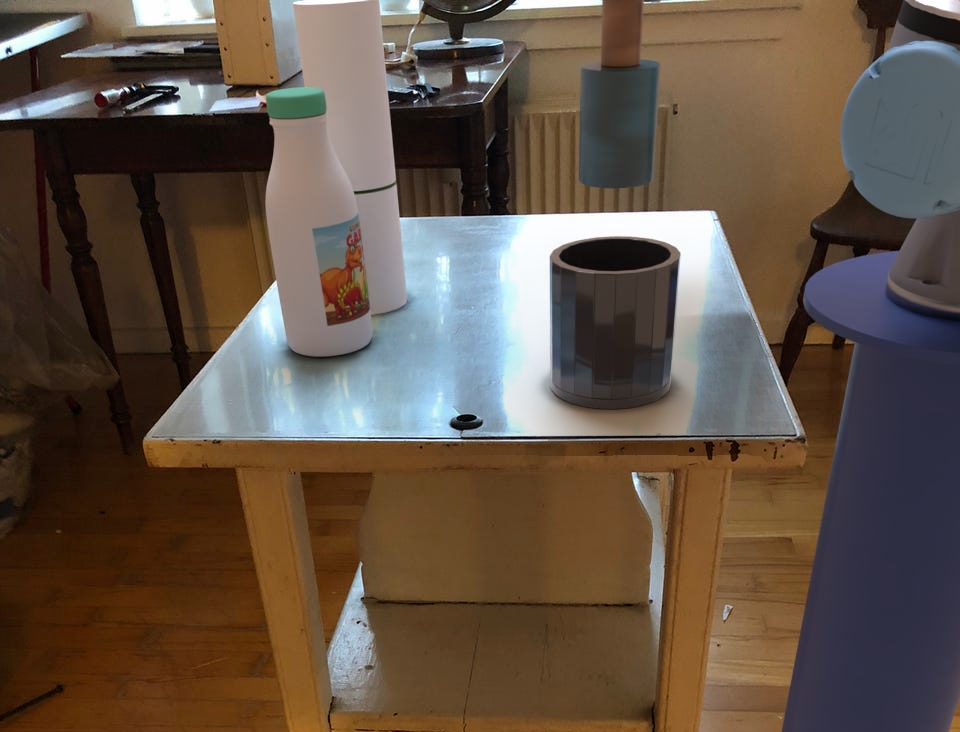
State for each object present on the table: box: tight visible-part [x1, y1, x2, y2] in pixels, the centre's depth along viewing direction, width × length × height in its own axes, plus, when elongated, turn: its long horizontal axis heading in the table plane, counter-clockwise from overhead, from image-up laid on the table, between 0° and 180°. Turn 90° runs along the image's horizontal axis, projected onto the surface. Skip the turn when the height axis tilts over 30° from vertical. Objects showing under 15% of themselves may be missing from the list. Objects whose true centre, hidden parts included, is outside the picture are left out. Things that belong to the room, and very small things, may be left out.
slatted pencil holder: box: [549, 235, 681, 410], centre depth 74 cm, size 9×9×10 cm
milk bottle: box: [265, 86, 374, 358], centre depth 81 cm, size 8×8×20 cm
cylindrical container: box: [292, 0, 408, 316], centre depth 88 cm, size 7×7×25 cm
